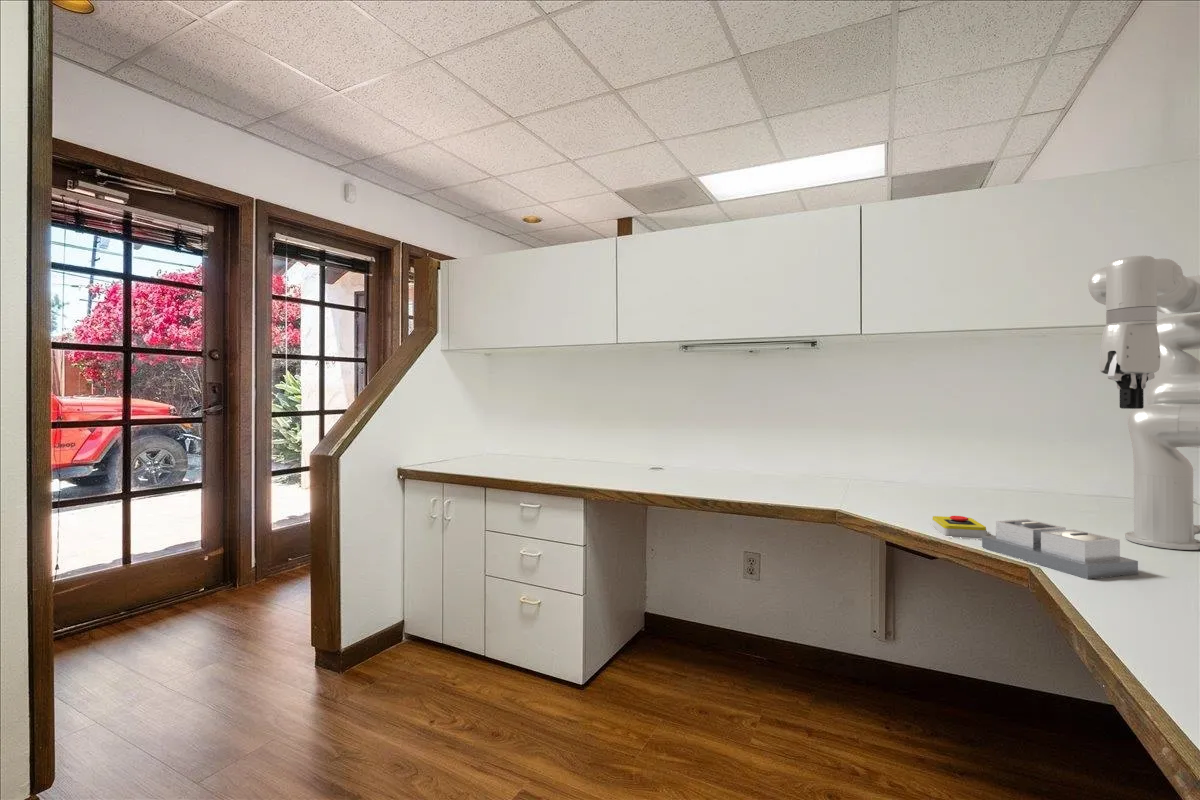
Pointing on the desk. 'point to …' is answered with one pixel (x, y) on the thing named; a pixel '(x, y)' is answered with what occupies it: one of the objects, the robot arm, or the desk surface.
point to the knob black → (1030, 524)
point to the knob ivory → (1079, 536)
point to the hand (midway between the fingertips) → (1131, 408)
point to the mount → (1061, 550)
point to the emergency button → (959, 527)
